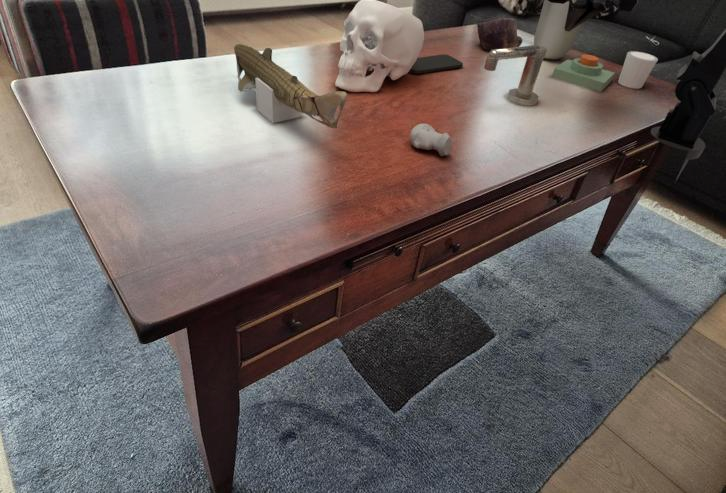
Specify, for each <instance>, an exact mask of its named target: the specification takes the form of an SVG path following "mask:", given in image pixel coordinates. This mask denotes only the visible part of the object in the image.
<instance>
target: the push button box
mask: <svg viewBox="0 0 726 493" xmlns="http://www.w3.org/2000/svg"><path fill="white" fill-rule="evenodd" d="M580 59H581V57H574V58H573V59H566V60H564V61H563V62H561V63H560V64H559V65H557V66H556V67H554V68H553V72H552V75H551V78H554V79H557V80H560V81H564V82H567V83H570V84H573V85H576V86H580V87H582V88H583V87H584V88H587V89H589V90H593V91H596V92H598V93H599V92H600V93H601V92H602V91H603V90H604V89H605V88H606V87H607V86H608V85H609V84H610V83H612V81H613V79H614V76H615V75H616V72H613V71H611V70H607V69H603V68H604V65H603V64H602V63H601V62H599V61H598V63H597V65H596V67H592V66H586V65H583V64H581V63H579V61H580Z"/></svg>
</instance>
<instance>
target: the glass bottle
mask: <svg viewBox="0 0 726 493" xmlns="http://www.w3.org/2000/svg"><path fill="white" fill-rule="evenodd" d="M568 8H569V1H568V2H566V3H564V4H560V3H551V2H550V1H548V0H544V1H543V4H542V7H541V11H540V15H539V18H538V22H537V25H536V29H535V33H534V36H533V45H539V46H543V47H545V48H546V49H547V51H546V54H545V57H544V58H543V59H546V60H559V59H561V58H563V57H564V56H566V55H567V54H568V53H569V52H570V50H571V49H572V47H573V46H574V43H575V42H576V39H577V36H578V33H579V31H580V28H581V25H582V23H581V24H580V25H578V26H577V27H575V28H574V29H572V30H571V31H569V32H568V31H565V23H566V18H567V13H568Z"/></svg>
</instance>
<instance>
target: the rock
mask: <svg viewBox="0 0 726 493" xmlns="http://www.w3.org/2000/svg"><path fill="white" fill-rule="evenodd" d="M476 25H477V35H478V39H479V45H480V46H481V47H482V48H483V49H484V50H485V51H489V52H490V51H492V50H494V49H504V48H514V47H521V45H522V44H523V38H522V37H521V36H518V25H517V20H516V19H515V18H512V17H501V18H485V19H483V20H482V21H480V22H479V23H478V24H476Z"/></svg>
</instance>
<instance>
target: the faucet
mask: <svg viewBox="0 0 726 493" xmlns="http://www.w3.org/2000/svg"><path fill="white" fill-rule="evenodd" d="M543 61H544V58H541V59H539V58H533V57H531V56H529V57H526V60H525V63H524V66H523V69H522V73H521V75H520V79H519V83H518V85H517V87H516V88H515V87H514V88H510V89H509V90H508V93H507V99H508V100H509V101H510V102H512V103H515V104H517V105H521V106H529V107H531V106H535V105H537V103H538V101H539V94H537V93H536V92H534V88H535V85H536V82H537V80H538V76H539V74H540V70H541V68H542V65H543Z"/></svg>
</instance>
